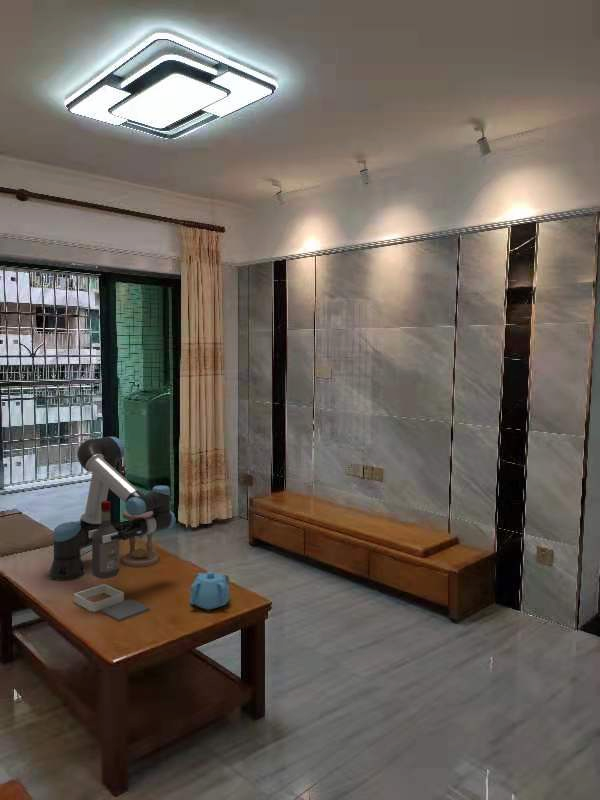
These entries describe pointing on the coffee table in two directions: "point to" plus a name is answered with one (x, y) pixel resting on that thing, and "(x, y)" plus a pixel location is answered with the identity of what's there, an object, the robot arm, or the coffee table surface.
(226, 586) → the decorative pot
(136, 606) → the slate coaster
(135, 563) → the hourglass
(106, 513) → the liquor
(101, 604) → the bottle holder
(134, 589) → the coffee table surface
